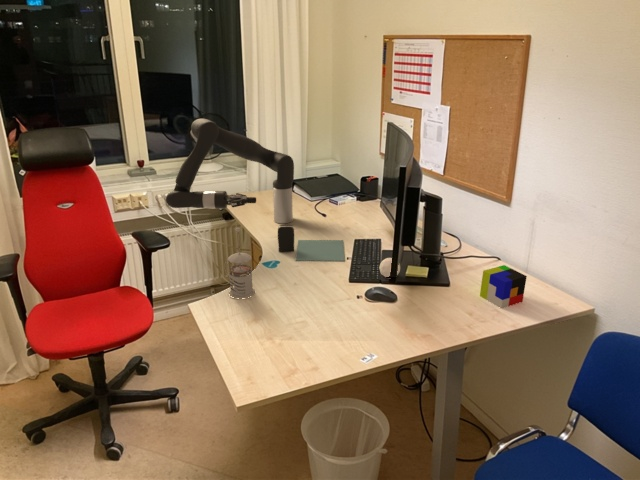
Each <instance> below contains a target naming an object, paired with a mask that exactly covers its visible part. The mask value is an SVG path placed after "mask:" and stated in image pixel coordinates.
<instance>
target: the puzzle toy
mask: <svg viewBox="0 0 640 480" xmlns="http://www.w3.org/2000/svg"><path fill="white" fill-rule="evenodd" d="M526 282H527V275H525V274H523V273H522V272H520V271H517V270H515V269H513V268H511V267H509V266H507V265H505V264H503V265H500V266H495V267H492V268H488V269H483V271H482V276H481V286H480V290H479V291H480V292H479V296H480V297H481V298H482V299H484V300H485V301H487V300H488V301H487V302H488V303H489V302H490V303H491V304H492V303H493V305H494V306H496V307H497V308H499V307H500V309H504V307H505V308H507V306H508V307H511V306H513V304H514V305H516V303H517V304H520V303H519V302H521V303H523V302H524V301H523V300H524V295H525V288H526ZM510 305H511V306H510Z"/></svg>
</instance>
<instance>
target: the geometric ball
mask: <svg viewBox="0 0 640 480" xmlns="http://www.w3.org/2000/svg"><path fill="white" fill-rule="evenodd" d="M392 258H393V257H386V258H384V259H383V260H382V261H381V262H380V264H379V268H378V269H379V272H380V274H381V275H382V276H384V278H386V277H389V276H390V272H391V263H392ZM400 272H401V265H400V264H399V265H398V271H397V276H398V275H399V273H400Z"/></svg>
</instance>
